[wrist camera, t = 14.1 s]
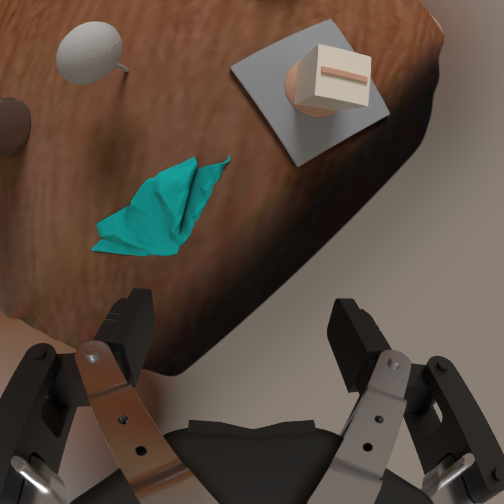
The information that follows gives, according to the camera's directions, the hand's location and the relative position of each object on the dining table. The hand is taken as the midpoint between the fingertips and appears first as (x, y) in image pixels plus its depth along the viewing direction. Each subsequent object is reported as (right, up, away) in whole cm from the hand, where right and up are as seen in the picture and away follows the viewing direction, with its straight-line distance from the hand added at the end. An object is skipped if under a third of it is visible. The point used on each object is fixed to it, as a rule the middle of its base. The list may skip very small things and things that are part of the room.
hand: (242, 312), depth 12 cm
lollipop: (-17, +27, +18) cm, 37 cm away
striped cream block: (+9, +24, +19) cm, 32 cm away
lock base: (+9, +24, +20) cm, 33 cm away
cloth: (-13, +8, +27) cm, 32 cm away
